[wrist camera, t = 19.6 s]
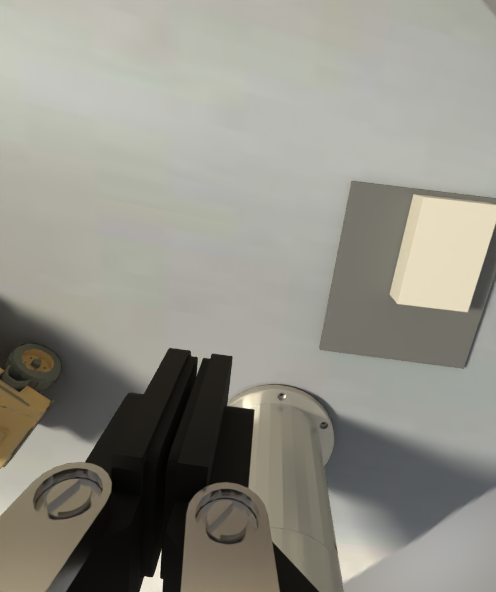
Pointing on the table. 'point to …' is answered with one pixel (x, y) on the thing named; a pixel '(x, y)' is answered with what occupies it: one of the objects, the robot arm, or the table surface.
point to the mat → (378, 280)
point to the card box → (442, 252)
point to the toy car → (24, 395)
